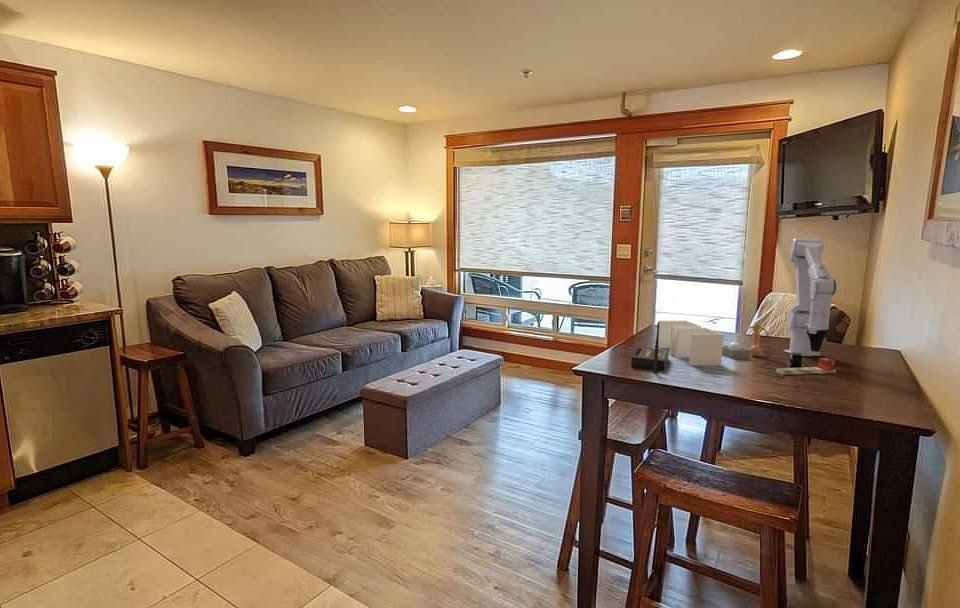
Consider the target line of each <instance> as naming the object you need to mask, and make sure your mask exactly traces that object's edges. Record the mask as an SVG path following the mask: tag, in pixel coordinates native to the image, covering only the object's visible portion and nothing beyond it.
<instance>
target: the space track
mask: <svg viewBox="0 0 960 608" xmlns="http://www.w3.org/2000/svg"><path fill="white" fill-rule="evenodd" d="M817 361H818V362H817V366H809V367H807V366H805V367H804V368H789V367H781V368H775V373H777V374H780V375H782V376H784V375H812V374H813V375H815V374H835V373H837V369H835V365H836V360H834V359H831V358H828V357H818V360H817Z"/></svg>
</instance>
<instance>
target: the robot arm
mask: <svg viewBox="0 0 960 608" xmlns="http://www.w3.org/2000/svg"><path fill="white" fill-rule="evenodd" d="M824 245H825V244H824V241H823V240H822V238H814V239H813V238H792V240H791V242H790V246H789V259H790V262H791V263H792V264H794V269H795V293H796V295H795V298H796V305H794V306H792V307H791V308H790V309H789V310H788V316H787V321H786V322H787V327H788V328H789V329H790V330H791V334H790V335H791V336H790V342H789V349H784V350H783V352H785V353H787V354H791V352H793V353H800V354H801V355H802V357H811V356H812V357H813V356H814V357H816V356H819V357H820V356H821V355H822V354H821V353H820V351H821V348H822V345H823V343H824V340H825V338H826V337H827V336H828V334H829V331H827V330H830V329H829V328H830V327H829V324H830V323H829V322H830V315H831V308H832V300H833V296H835V294H836V291H837V285H838V284H837V280H836V279H835V278H833V277H832V276H830V275H831V274H830V272H829V269H828V267H827V265H826V264H823V262H822V258H821V255H822V253H823V252H824V247H825V246H824ZM825 330H826V331H825Z"/></svg>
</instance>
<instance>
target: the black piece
mask: <svg viewBox="0 0 960 608" xmlns="http://www.w3.org/2000/svg"><path fill="white" fill-rule="evenodd" d="M789 354H790V355H789V361H788V360H787V361H786V360H784V361H783V362H784V363H785V365H786V366H787V368H804V367H806V366H805V365H804V364H803V363H802V362H803V356H802V355H801V354H800V353H793V352H791V353H789Z"/></svg>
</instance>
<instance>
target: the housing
mask: <svg viewBox="0 0 960 608" xmlns="http://www.w3.org/2000/svg"><path fill="white" fill-rule="evenodd" d="M728 346H729V345H723V348H722V356H725V357H727V358H730V359H734V360H735V359H750V358H751V353H750V351H751V350H750V348H746V347H743V346H742V350H732V349H730V348H728Z"/></svg>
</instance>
